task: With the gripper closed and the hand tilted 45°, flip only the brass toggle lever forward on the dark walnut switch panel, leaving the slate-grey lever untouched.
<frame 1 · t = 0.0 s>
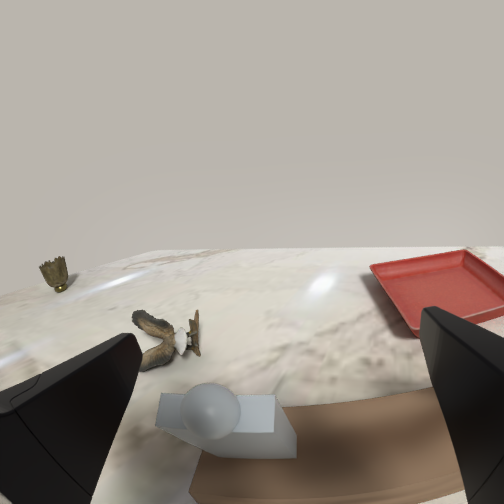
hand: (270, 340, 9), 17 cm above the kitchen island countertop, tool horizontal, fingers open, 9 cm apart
slate lever: (236, 432, 14), point 9 cm above the kitchen island countertop, hinge at -25.0°
cup: (62, 291, 68), on the kitchen island countertop
eagle figurine: (170, 359, 37), on the kitchen island countertop
walnut panel: (388, 465, 17), on the kitchen island countertop
plant saucer: (444, 302, 36), on the kitchen island countertop
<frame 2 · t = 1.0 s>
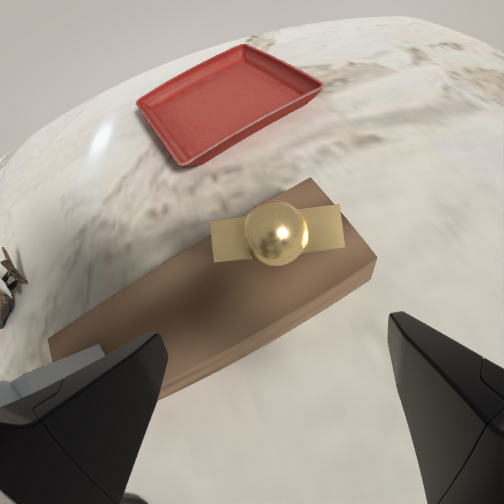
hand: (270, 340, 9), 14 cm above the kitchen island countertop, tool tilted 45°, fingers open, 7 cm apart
slate lever: (44, 384, 15), point 9 cm above the kitchen island countertop, hinge at -25.0°
eagle figurine: (12, 299, 31), on the kitchen island countertop
walnut panel: (200, 324, 24), on the kitchen island countertop
plant saucer: (226, 109, 36), on the kitchen island countertop
brass lever: (285, 238, 15), point 9 cm above the kitchen island countertop, hinge at -25.0°
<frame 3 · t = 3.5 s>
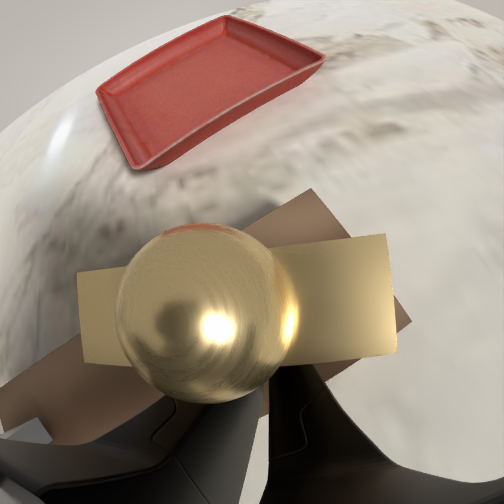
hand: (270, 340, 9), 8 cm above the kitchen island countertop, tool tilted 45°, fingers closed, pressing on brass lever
walnut panel: (162, 389, 17), on the kitchen island countertop
plant saucer: (202, 92, 28), on the kitchen island countertop
brass lever: (259, 303, 8), point 10 cm above the kitchen island countertop, hinge at -15.8°, touching gripper
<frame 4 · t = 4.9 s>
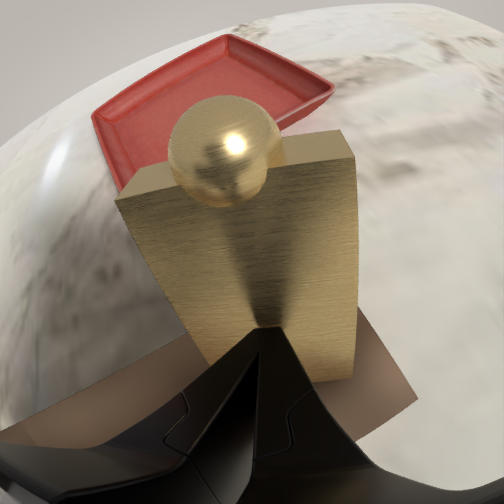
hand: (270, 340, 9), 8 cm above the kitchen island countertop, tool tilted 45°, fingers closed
walnut panel: (165, 442, 16), on the kitchen island countertop
plant saucer: (202, 120, 27), on the kitchen island countertop
brass lever: (262, 279, 9), point 9 cm above the kitchen island countertop, hinge at 24.6°
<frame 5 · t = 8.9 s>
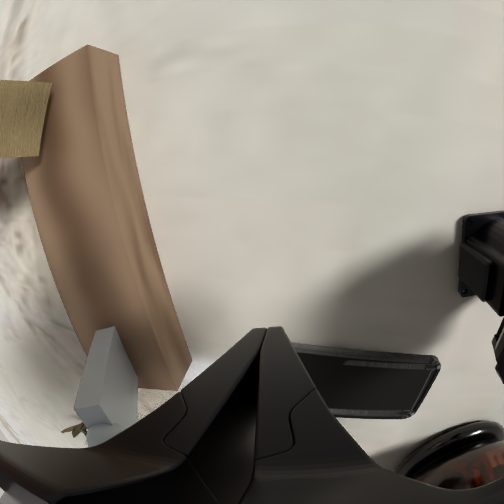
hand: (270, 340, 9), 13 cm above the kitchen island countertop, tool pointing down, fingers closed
slate lever: (111, 397, 17), point 9 cm above the kitchen island countertop, hinge at -25.0°
amphora vase: (448, 454, 28), on the kitchen island countertop
phone: (353, 380, 25), on the kitchen island countertop
walnut panel: (107, 226, 23), on the kitchen island countertop
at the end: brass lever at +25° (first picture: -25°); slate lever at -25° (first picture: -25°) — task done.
